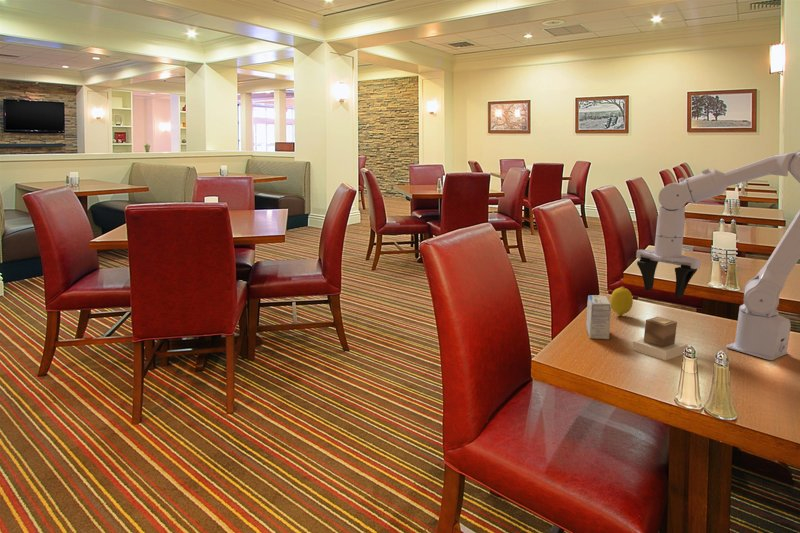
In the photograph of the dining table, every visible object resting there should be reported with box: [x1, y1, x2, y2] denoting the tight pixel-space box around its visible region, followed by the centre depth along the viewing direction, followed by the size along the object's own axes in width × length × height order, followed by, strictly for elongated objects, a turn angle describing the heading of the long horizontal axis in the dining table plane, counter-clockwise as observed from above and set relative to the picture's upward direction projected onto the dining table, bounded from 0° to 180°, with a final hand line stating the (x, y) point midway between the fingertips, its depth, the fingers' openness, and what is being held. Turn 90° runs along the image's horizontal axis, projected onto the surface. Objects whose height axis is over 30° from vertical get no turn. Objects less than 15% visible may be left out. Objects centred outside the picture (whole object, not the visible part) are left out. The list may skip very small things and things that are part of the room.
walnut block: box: [643, 316, 678, 348], centre depth 124 cm, size 4×4×5 cm
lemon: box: [609, 286, 634, 317], centre depth 150 cm, size 6×6×8 cm
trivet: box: [631, 337, 688, 361], centre depth 126 cm, size 8×8×3 cm
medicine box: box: [585, 294, 612, 340], centre depth 136 cm, size 8×4×9 cm, turn 168°
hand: (663, 293), depth 133 cm, fingers open, 7 cm apart
